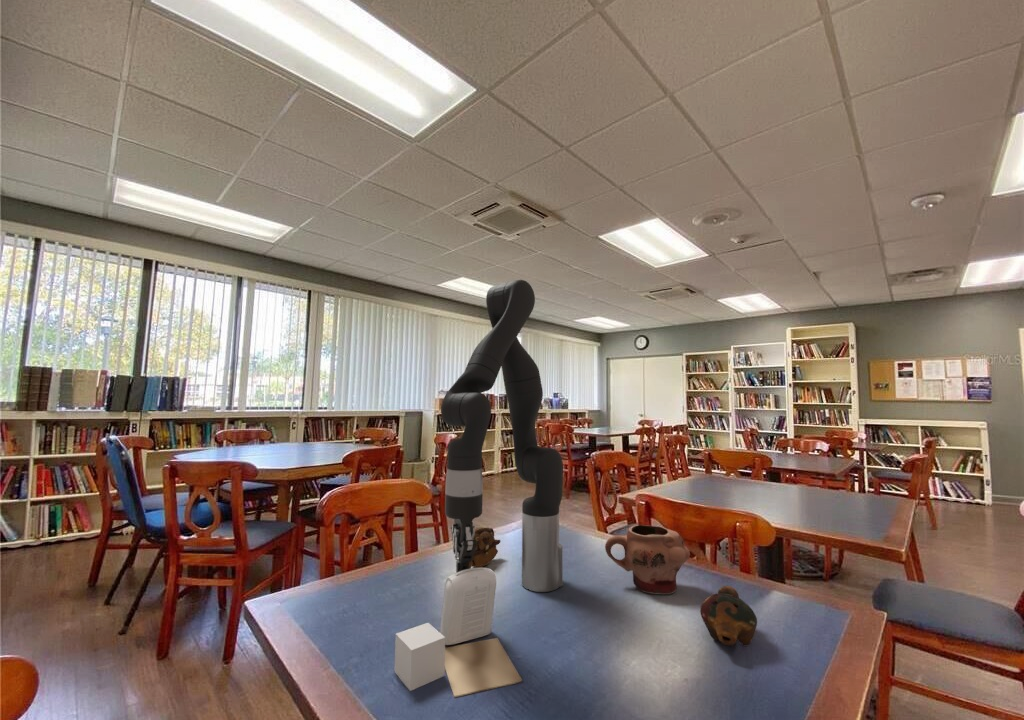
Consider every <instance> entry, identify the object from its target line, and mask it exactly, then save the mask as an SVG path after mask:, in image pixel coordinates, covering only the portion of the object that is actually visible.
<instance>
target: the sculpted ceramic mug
mask: <svg viewBox="0 0 1024 720" xmlns="http://www.w3.org/2000/svg"><path fill="white" fill-rule="evenodd" d="M614 545H620V546H622V547H623V549H624V550H623V551H624V557H623V558H622V559H617V558H616V557H615V556H614V555H613V554H612V547H614ZM604 548H605V549H604V550H605V552H606V554H607V556H608V557H609V558H610V559H611V560H612V562H614V563H615V564H617V565H618V566H619V567H621V568H622V569H623V570H625V571H626V572H631V571H632V582H633V584H634V585H635V587H636V588H637V590H639V591H641V592H643V593H648V594H654V595H670V594H673V593H675V592H676V591H677V574H678V572H679V571H680V569H681V568H682V566H683V565H684V564H685V563H686V562H687V561H688V560H689V558H690V556H691V553H690V549H689V548H688V547H687V546H685V544H684V540H683V538H682V537H681V535H680V533H678V531H675V530H672V529H669V528H666V527H664V526H656V525H645V524H644V525H643V524H635V525H632V526H630V527H629V528H628V530H627V533H626V534H625V535H617V534H616V535H613V536H611V537H609V538H608V539H607V540H606V542H605V545H604Z"/></svg>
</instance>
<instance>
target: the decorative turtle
mask: <svg viewBox="0 0 1024 720" xmlns="http://www.w3.org/2000/svg"><path fill="white" fill-rule="evenodd" d="M699 613H700V616H701V619H702V621H703V623H704V625H705V627H706V630H707V631H708V633H709V635H710V636H711V638H712V640H714V641H716V642H718V641H719V642H720V643H722V645H724V646H728V647H732V646H734V645H736V643H737V641H738V642H739V643H741V645H742V646H744V647H748V646H750V644H751V642H752V640H753V639H754V635H755V632H756V629H757V626H758V618H757V615H756V613H755V612H754V610H753V609H752V608H751V607H750V605H749V604H748V603H747V602H745V601H744V600H743V599H741V598H740V597H739V593H738V591H737V590H736V589H735V588H734V587H733V586H730V585H723V586H721V587H720V588H719V589H718V591H717V593H715V594H712V595H710V596H707V598H706V599H704V601H703V602H702V603H701V606H700V609H699Z"/></svg>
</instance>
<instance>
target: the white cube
mask: <svg viewBox="0 0 1024 720" xmlns="http://www.w3.org/2000/svg"><path fill="white" fill-rule="evenodd" d="M445 648H446V645H445V637H444V636H443V635H442V634H441V633H440V631H438V630H437V628H435V627H434V626H433V625H432V624H431V623H430V622H426V623H423V624H419V625H417V626H415V627H414V626H413V627H412V628H408V629H406V630H402V631H399V632H396V633H395V644H394V670H393V671H394V673H395V674H396V675H397V677H398V678H399V679H400V681H401V682H402V683H403V684H404V686H405V687H406V688H407V689H408V690H409V691H410V692H411V691H413V690H417V689H418V688H421V687H422V686H424V685H427V684H429V683H431V682H433V681H436V680H438V679H441V678H443V677H445Z"/></svg>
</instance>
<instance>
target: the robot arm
mask: <svg viewBox="0 0 1024 720" xmlns="http://www.w3.org/2000/svg"><path fill="white" fill-rule="evenodd" d="M535 295H536V294H535V292H534V289H533V286H532V285H531V284H530V283H529V282H528V281H527V280H524V279H515V280H511V281H507V282H503V283H498V284H496V285H493V286H491V287H489V288H488V291H487V292H486V296H485V297H486V298H485V299H486V300H485V301H486V302H485V303H486V309H487V314H488V317H489V321H490V325H491V328H492V329H491V330H490V331H489V332H488V333H487V334H486V335H485V336H484V337H483V338H482V339H481V340H480V341H479V343H478V344H477V346H476V347H475V348H474V349H473V352H472V354H471V356H470V358H469V360H468V363H467V365H466V367H465V370H464V372H462V374H461V375H460V376H459V377H458V378H457V380H456V381H455V382H454V383H453V384H452V386H451V387H450V388H449V389H448V391H447V393H446V394H445V395H444V397H443V399H442V401H441V407H440V414H441V418H442V421H444V423H445V424H447V425H448V426H451V427H462V428H463V427H464V430H463V433H462V436H461V437H458V438H455V439H452V440H450V441H449V442H448V446H447V464H446V475H445V493H444V494H445V495H444V499H445V500H444V515H445V517H447V518H449V519H451V520H453V522H454V523H452V524H451V527H450V529H451V530H450V531H451V538H452V552H453V555H454V559H455V563H456V565H455V568H456V569H455V571H456V572H455V573H457V572H459V571H462V570H465V569H469V562H472V560H473V557H474V553H475V549H476V546H477V541H476V540H473V538H474V535H475V528H476V527H475V525H474V524H473V521H474V519H476V518H479V517H481V516H482V515H483V496H484V495H483V494H484V493H483V492H484V491H483V489H484V487H483V486H484V485H483V484H484V478H483V469H482V468H483V467H482V466H483V447H484V442H485V440H486V436H487V431H488V428H489V424H490V421H491V416H492V407H491V403H490V400H489V399H488V397H487V396H486V394H484V393H485V392H487V391H490V390H491V389H493V387H494V385H495V382H496V380H497V378H498V375H499V373H500V369H501V372H502V377H503V383H504V390H505V394H506V399H507V403H508V409H509V416H510V423H511V428H512V438H513V439H512V440H513V449H514V450H513V451H514V462H515V469H516V472H517V474H518V476H519V477H520V479H521V480H522V481H524V482H527V483H531V484H535V492H534V495H533V496H530V497H526V498H524V499H523V500H522V504H521V506H522V507H521V509H522V515H521V517H522V518H521V519H522V521H521V522H522V523H521V524H522V525H521V529H522V530H521V533H522V534H521V557H522V558H521V585H522V587H523V586H524V587H523V588H525V589H527V590H528V589H529V591H531V592H537V593H546V592H553V591H555V590H557V589H558V588H561V587H563V586H564V585H563V584H564V583H563V581H564V574H563V569H564V567H563V565H564V564H563V561H564V558H563V552H564V551H563V545H562V544H561V543H560V506H561V502H562V499H563V483H564V482H563V481H564V463H563V458H562V455H561V453H560V452H559V451H558V450H557V449H555V448H552V447H546V446H539V444H538V440H537V434H536V420H537V418H538V415H539V412H540V408H541V405H542V402H543V396H544V392H543V385H542V381H541V380H542V378H541V375H540V369H539V367H538V365H537V363H536V362H535V360H534V359H533V358H532V356H531V355H530V354H529V353H528V351H527V350H526V349H525V348H524V346H523V345H522V343H521V342H520V340H519V339H518V335H519V333H520V332H521V330H522V328H523V327H524V326H525V324H526V322H527V321H528V319H530V318H529V317H530V316H531V314H532V312H533V310H534V307H535V305H536V304H535V303H536V297H535Z"/></svg>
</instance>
